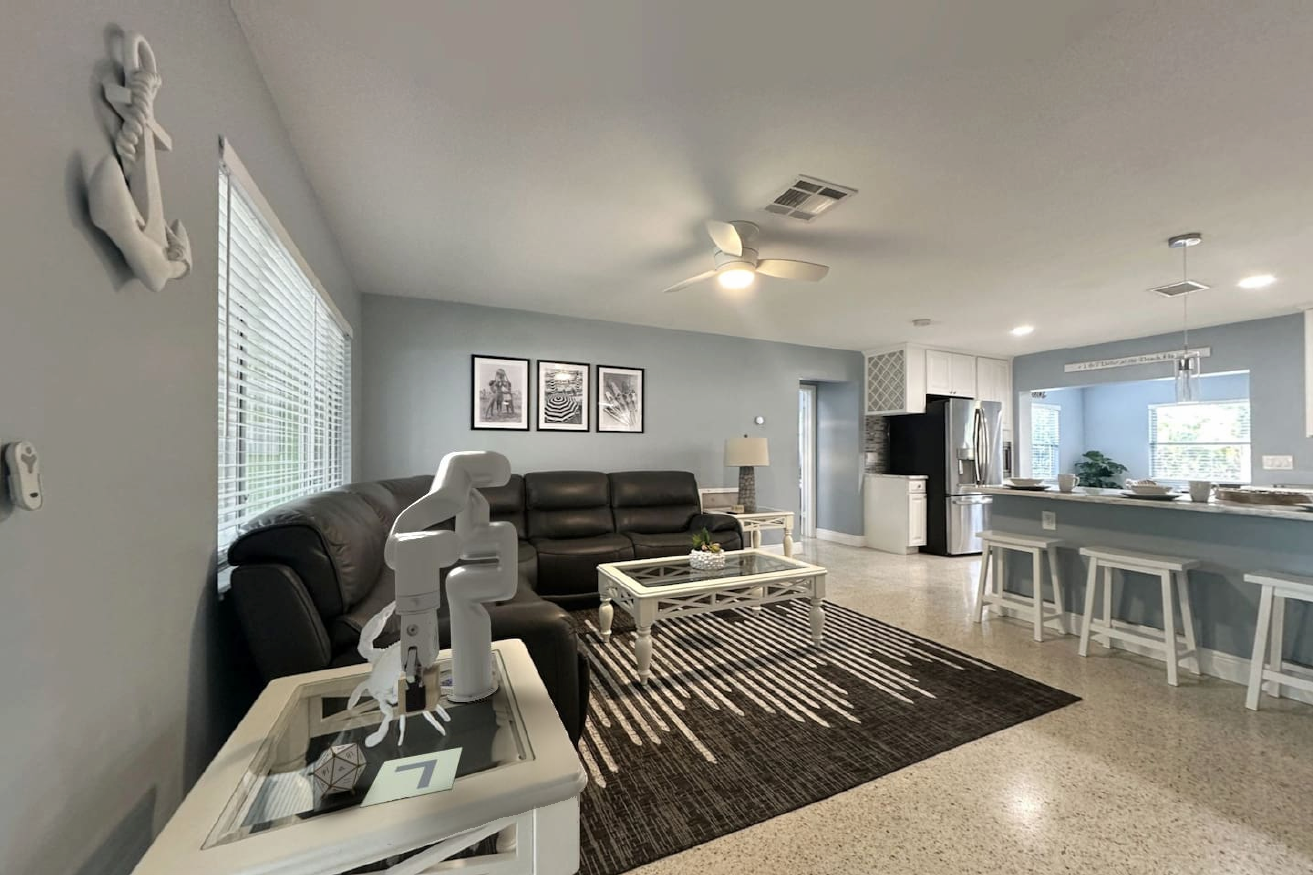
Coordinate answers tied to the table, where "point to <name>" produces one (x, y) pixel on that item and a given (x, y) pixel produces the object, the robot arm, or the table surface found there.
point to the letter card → (414, 776)
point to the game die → (340, 768)
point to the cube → (432, 689)
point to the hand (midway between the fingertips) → (420, 701)
